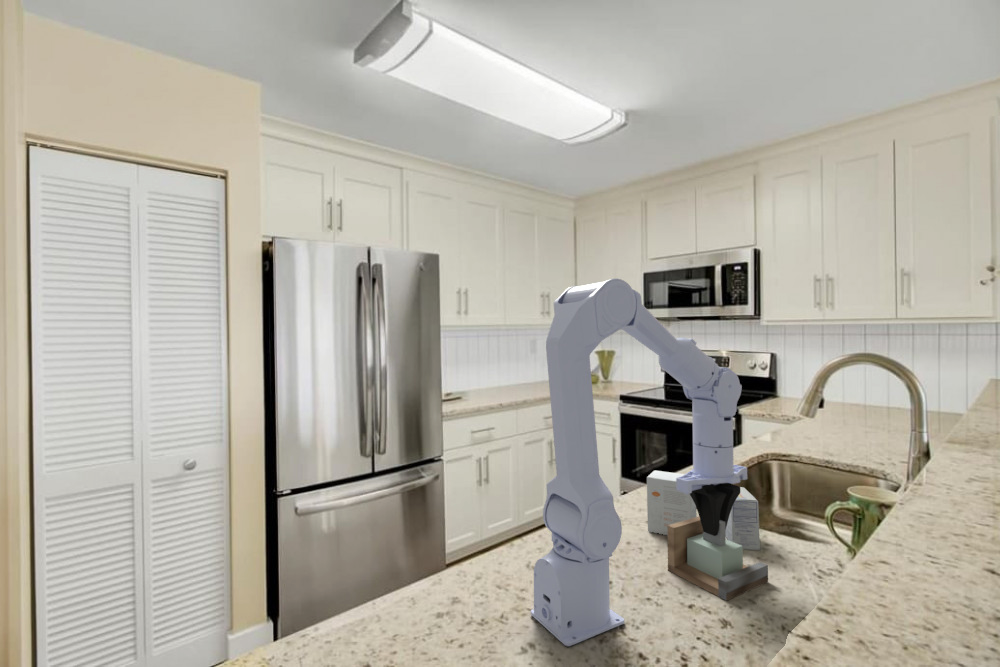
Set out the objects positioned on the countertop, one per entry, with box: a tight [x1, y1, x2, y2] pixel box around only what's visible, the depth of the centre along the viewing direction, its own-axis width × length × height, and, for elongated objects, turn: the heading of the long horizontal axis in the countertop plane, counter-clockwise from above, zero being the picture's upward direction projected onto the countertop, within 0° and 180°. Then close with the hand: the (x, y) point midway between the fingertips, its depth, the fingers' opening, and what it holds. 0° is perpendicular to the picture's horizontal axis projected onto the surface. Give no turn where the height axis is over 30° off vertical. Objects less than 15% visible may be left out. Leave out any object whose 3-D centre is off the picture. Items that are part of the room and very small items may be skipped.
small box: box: [646, 470, 698, 537], centre depth 89 cm, size 8×6×10 cm
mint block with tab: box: [687, 520, 744, 579], centre depth 72 cm, size 5×6×8 cm
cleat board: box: [667, 515, 769, 601], centre depth 72 cm, size 10×10×7 cm
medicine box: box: [725, 486, 761, 551], centre depth 84 cm, size 8×4×9 cm, turn 168°
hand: (713, 532), depth 72 cm, fingers closed on mint block with tab
